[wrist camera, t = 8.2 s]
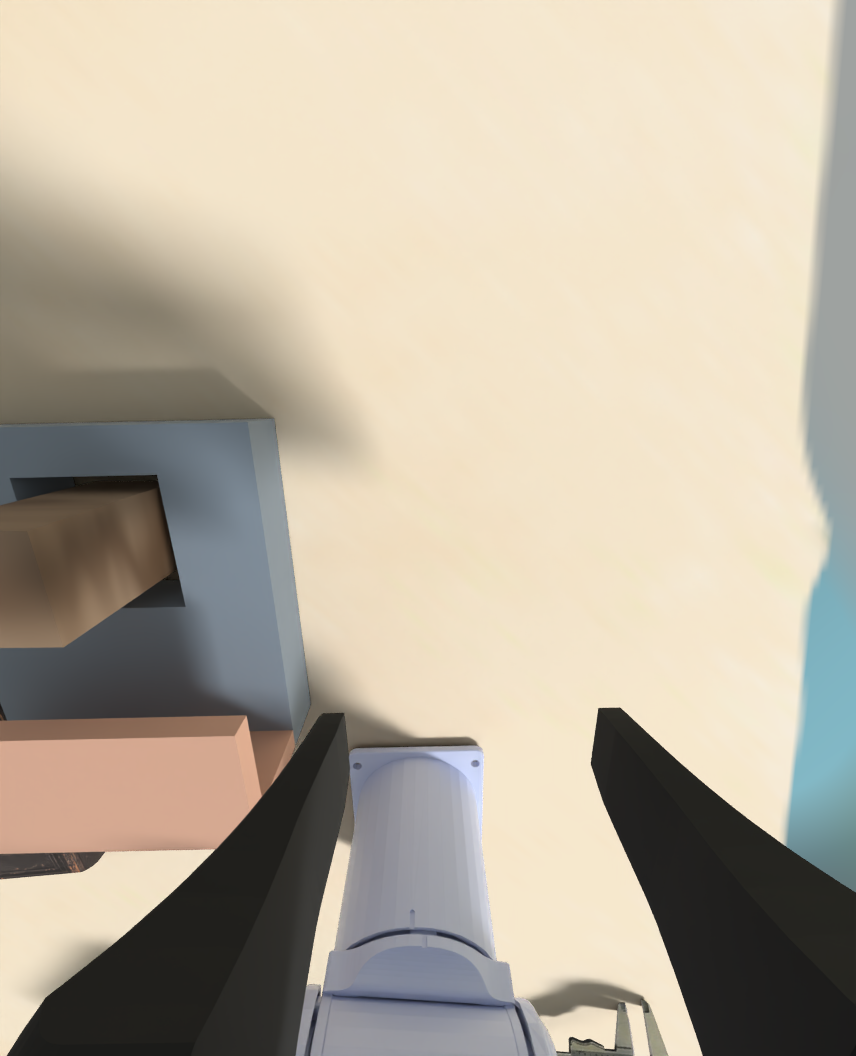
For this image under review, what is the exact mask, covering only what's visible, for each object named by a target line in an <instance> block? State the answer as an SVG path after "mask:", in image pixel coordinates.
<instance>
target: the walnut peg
mask: <svg viewBox="0 0 856 1056" xmlns="http://www.w3.org/2000/svg"><path fill="white" fill-rule="evenodd" d="M175 570H177V565H176V560H175V555H174V551H173V546H172V542H171V537H170V533H169V528H168V523H167V519H166V514H165V510H164V505H163V501H162V496H161V491H160V487H159V482H158V481H95V482H91V483H87V484H83V485H79V486H75V487H71V488H67V489H63V490H59V491H55V492H51V493H47V494H43V495H39V496H35V497H31V498H27V499H23V500H19V501H15V502H11V503H7V504H3V505H0V648H53V647H65V646H66V645H68V644H69V643H71V642H72V641H74V640H75V639H77V638H78V637H79V636H81V635H82V634H84V633H85V632H87V631H88V630H90V629H91V628H93V627H94V626H95V625H97V624H98V623H100V622H101V621H103V620H104V619H106V618H107V617H109V616H110V615H111V614H113V613H114V612H116V611H117V610H119V609H120V608H122V607H123V606H125V605H126V604H127V603H129V602H130V601H132V600H133V599H135V598H136V597H138V596H139V595H141V594H142V593H143V592H145V591H146V590H148V589H149V588H151V587H152V586H154V585H155V584H157V583H158V582H159V581H161V580H162V579H164V578H165V577H167V576H168V575H170V574H171V573H173V572H174V571H175Z"/></svg>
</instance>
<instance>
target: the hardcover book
mask: <svg viewBox="0 0 856 1056" xmlns="http://www.w3.org/2000/svg"><path fill="white" fill-rule="evenodd" d="M0 721H7V719H6V716H5V714H4V711H3V709H2V706H1V704H0ZM104 853H105V852H65V853H20V854H0V879H9V878H20V877H32V876H43V875H54V874H65V873H76V872H83V871H85V870H87V869H88V868H90V867H92V866H93V865H94V864H95V863H97V862H98V860H99V859H100V858H101V857H102V855H103V854H104Z"/></svg>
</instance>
